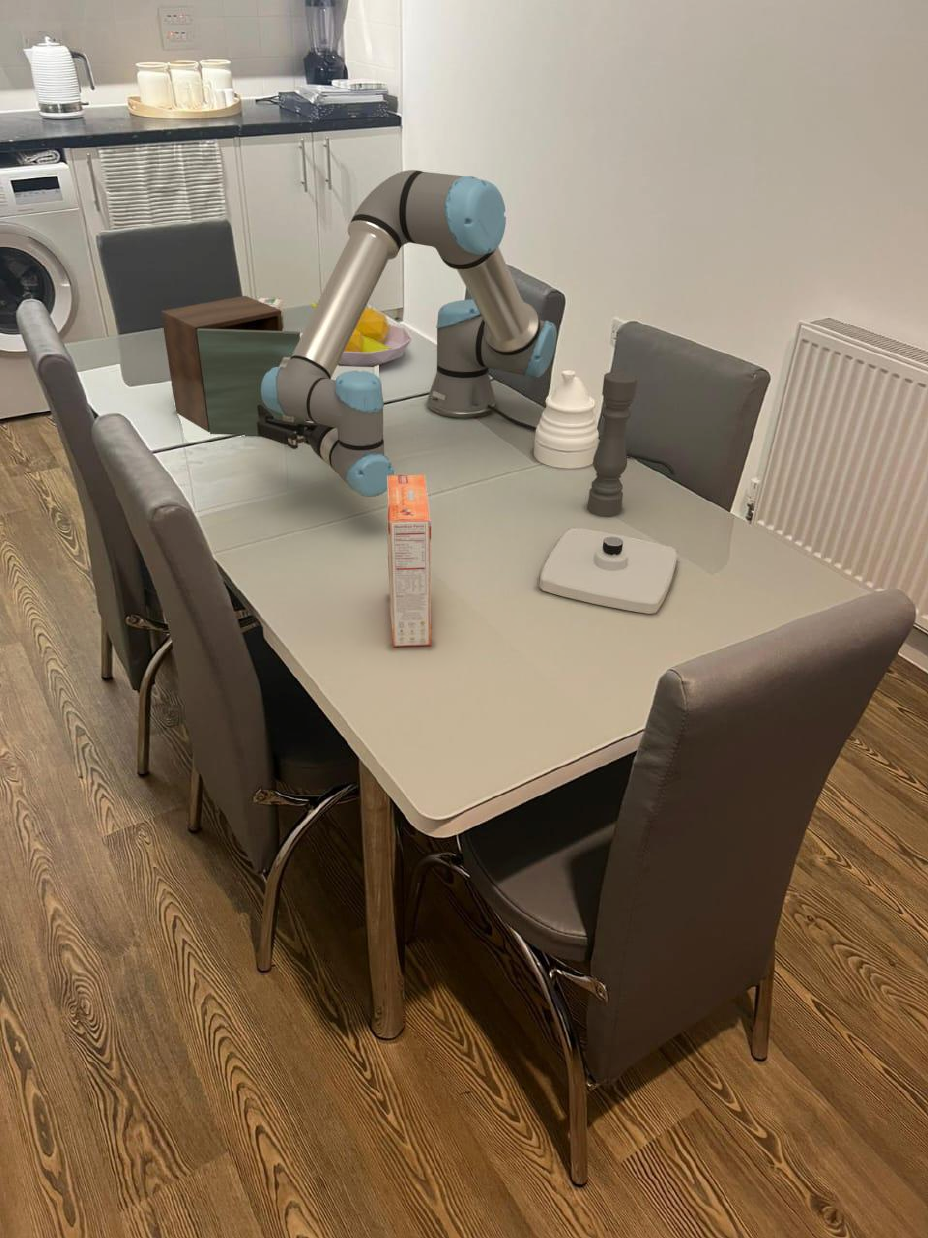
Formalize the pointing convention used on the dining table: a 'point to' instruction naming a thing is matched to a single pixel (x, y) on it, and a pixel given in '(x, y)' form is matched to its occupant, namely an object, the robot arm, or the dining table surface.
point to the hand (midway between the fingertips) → (293, 405)
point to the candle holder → (612, 445)
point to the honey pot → (567, 426)
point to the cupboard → (186, 348)
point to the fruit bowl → (374, 341)
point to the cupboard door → (241, 375)
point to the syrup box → (274, 305)
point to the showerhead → (609, 570)
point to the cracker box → (409, 559)
